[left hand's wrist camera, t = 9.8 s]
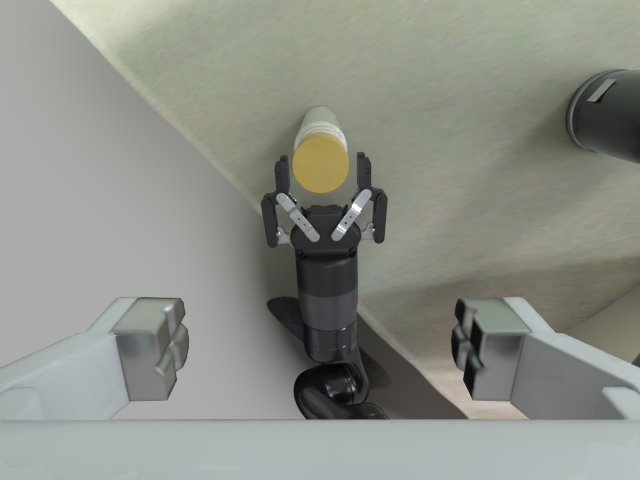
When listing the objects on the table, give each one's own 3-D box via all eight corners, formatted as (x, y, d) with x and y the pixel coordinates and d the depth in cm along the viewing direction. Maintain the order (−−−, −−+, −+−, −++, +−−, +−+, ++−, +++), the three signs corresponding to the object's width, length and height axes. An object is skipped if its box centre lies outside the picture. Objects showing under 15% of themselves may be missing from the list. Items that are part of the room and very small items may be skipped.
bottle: (308, 100, 49) (299, 122, 27) (343, 113, 50) (362, 144, 28) (297, 136, 51) (280, 184, 29) (331, 148, 51) (340, 203, 29)
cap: (303, 124, 29) (301, 128, 27) (354, 141, 30) (357, 147, 28) (287, 175, 31) (285, 183, 28) (336, 191, 31) (338, 200, 29)
